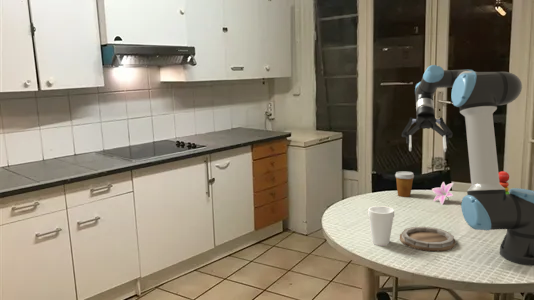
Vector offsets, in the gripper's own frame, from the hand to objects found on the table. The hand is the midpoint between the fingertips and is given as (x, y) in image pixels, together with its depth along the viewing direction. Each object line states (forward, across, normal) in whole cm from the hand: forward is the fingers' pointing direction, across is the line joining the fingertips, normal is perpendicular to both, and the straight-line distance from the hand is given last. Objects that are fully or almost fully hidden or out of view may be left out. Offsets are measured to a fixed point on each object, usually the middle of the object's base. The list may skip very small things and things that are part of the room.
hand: (427, 149), depth 180 cm
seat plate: (+38, +1, -8) cm, 38 cm away
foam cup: (+41, +18, -4) cm, 45 cm away
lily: (-2, -12, -47) cm, 48 cm away
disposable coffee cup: (-8, +6, -52) cm, 53 cm away
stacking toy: (+7, -34, -38) cm, 51 cm away
